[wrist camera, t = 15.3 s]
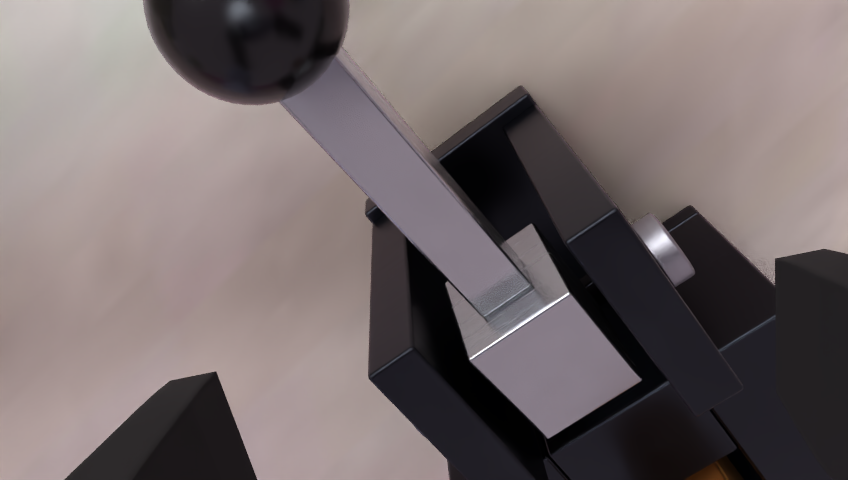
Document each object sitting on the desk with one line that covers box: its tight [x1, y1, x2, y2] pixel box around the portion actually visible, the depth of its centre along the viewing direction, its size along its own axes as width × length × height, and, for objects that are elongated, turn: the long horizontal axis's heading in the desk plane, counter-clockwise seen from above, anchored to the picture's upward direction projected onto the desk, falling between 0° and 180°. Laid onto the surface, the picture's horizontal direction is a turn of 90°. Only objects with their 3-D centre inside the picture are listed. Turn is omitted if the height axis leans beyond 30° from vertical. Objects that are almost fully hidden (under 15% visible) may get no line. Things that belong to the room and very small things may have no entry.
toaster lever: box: [143, 0, 642, 439], centre depth 12 cm, size 11×3×3 cm, turn 37°
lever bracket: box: [365, 86, 743, 480], centre depth 16 cm, size 5×6×8 cm
